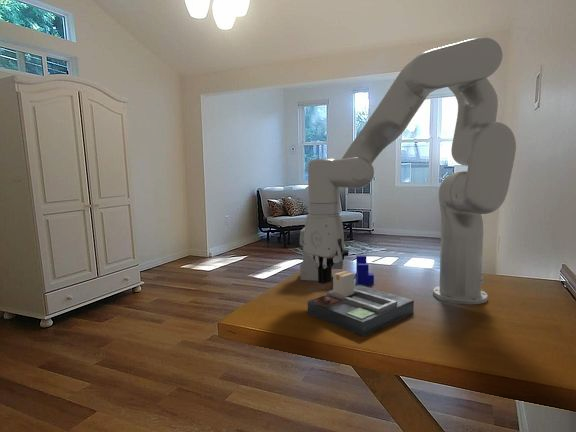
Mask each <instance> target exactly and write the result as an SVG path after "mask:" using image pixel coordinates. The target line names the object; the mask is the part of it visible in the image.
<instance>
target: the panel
mask: <svg viewBox="0 0 576 432" xmlns="http://www.w3.org/2000/svg"><path fill="white" fill-rule="evenodd" d="M414 303H415V301H414V299H411V298H407V297H404V296H399V295H397V294H393V293H389V292H385V291H383V290H382V291H381V290H380V289H375V288H371V287H367V286H366V285H358V284H357V285H354V294H352V295H349V296H343V295H340V294H337V293H334V292H333V289H331V290H328V291H326V295H322V296H320V297H317V298H313V299H311V300H307V314H308V315H309V316H311V317H315V318H317V319H319V320H322V321H324V322H327V323H330V325H333V326H336V327H339V328H341V329H343V330H346V331H348V332H351V333H354V334H355V335H358V336H360V337H366V336H369V334H373V333H375V332H377V331H378V330H380V329H382V328H384V327H386V326H387V327H388V326H389V325H391V324H393V323H395V322H397V321H400V320H402V319H404V318H406V317H408V316H411V315H412V314H413V313H414V311H415V309H414V308H415V307H414V305H415V304H414Z"/></svg>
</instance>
